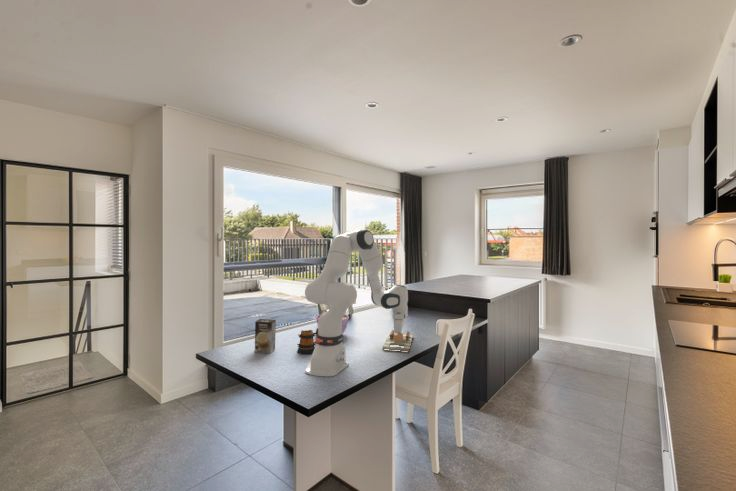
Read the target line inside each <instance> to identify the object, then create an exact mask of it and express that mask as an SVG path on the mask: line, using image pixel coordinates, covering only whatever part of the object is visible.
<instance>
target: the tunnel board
mask: <svg viewBox="0 0 736 491" xmlns="http://www.w3.org/2000/svg"><path fill="white" fill-rule="evenodd" d="M401 334H403V342H402V343H394V335H395V332H394V329H391V332H390V333H389V334H388V336H387V338H386V340H385V342H384V343H383V346H382V350H383V349H389V350H400V351H409V349H410V350H411V347H412V343H413V340H412V338H413V339H414V334H412V333H411V332H410V330H407V332H406V333H401ZM411 342H412V343H411ZM390 345H399V346H404V348H401V347H390ZM410 346H411V347H410ZM409 352H410V351H409Z"/></svg>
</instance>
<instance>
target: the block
mask: <svg viewBox="0 0 736 491" xmlns="http://www.w3.org/2000/svg"><path fill="white" fill-rule="evenodd" d="M394 333H395V332H394ZM403 334H404V333H402V334H398V333H395V335H394V343H402V342H403Z"/></svg>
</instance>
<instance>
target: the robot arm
mask: <svg viewBox="0 0 736 491" xmlns="http://www.w3.org/2000/svg"><path fill="white" fill-rule="evenodd" d="M354 252H355V253H357V252H358V253H359V257H360V259H361V262H362V265H363V267H364V270H365V272H366V277H367V280H368V284H369V286H370V291H371V297H370V299H371V302H372V303H373V304H374V305H376V306H378V307H380V308H383V309H387V310H390V309H392V313H391V314H392V320H393V330H394V333H398V334H401V333H402V331H403V329H404V327H405V323H406V322H405V321H406V318H407V317H408V316H409V315H408V314H409V307H408V302H409V292H408V291H409V290H408V288H407V286H405V285H401V284H394V285H393V286H392V287H391V288H389V289H387V290H385V288H383V286H382V283H381V280H380V276H379V272H380V271H381V270H382V269H383V266H384V261H383V258H382V255H381V251H380V249H379V247H378V244H377V243H376V242H375V238H374V236H373V233H372V232H371V231H370V230H369V229H368V228H367V229H366V228H362V229H358V230H351V231H348V232H345V233H341V234H339V235H336V236H334V238H333V240H332V242H331V243H330V246H329V249H328V253H327V257H326V262H325V264H324V266H323V269H322V271H321V272H320V274H319V275H318V276H317V277H316V278H315V279H313V280H312V281H310V282H309V283H308V284H307V285H306V287H305V289H304V296H305V299H306V300H307V302H310V303H313V304H316V305H324V306H325V305H327V306H329V310H328V311H326V312H323V313H321V314H322V315H321V316H320V318H319V321H318V324H317V328H318V335H317V338H316V337H315V339H314V340H315V341H314V342H316V343H317V344H316V343H315V344H316V346H314V347H315V348H314V351H313V354H311V356H310V357H311V358H310V360H309V362H308V364H307V367H306V368H305V369H304V370H305V372H304V373H305V374H307V375H310V376H315V377H317V376H318V377H335V376H336V375H338V374H339V373H340V372H341V371H343V370H344V369H345V368H347V367H348V366H349V364H350V362H348V361H347V358H346V346H345V345H344V344H343V334H342V319H343V315H344V314H346V311H347V310H348V309H349V308H350V307H351V306H352V305H353V304H354V303H355V302H356V300H357V297H358V292H357V289H356V287H355V285H353V284H350V283H347V282H339V281H338V279H339V278H341V277H344V276H345V275H346V274H347V273H348V269H349V268H348V267H349V265H350V264H349V262H350V258H351V253H354ZM402 334H403V333H402Z"/></svg>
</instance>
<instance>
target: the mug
mask: <svg viewBox="0 0 736 491" xmlns="http://www.w3.org/2000/svg"><path fill="white" fill-rule="evenodd" d="M317 335H318V327H317V328H316V330H315V332H314V331H313V330H312V329H308V330H302V329H301V331H300V334H297V336H298V338H299V339H300V340H299V343H297V344H296V345H297V350H296V353H297V354H299V355H305V356H306V355H307V356H308V355H312V354H313V351H314V348H315V346H316V344H317V343H316V342H315V341H314V337H315V339H316V338H317Z"/></svg>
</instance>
